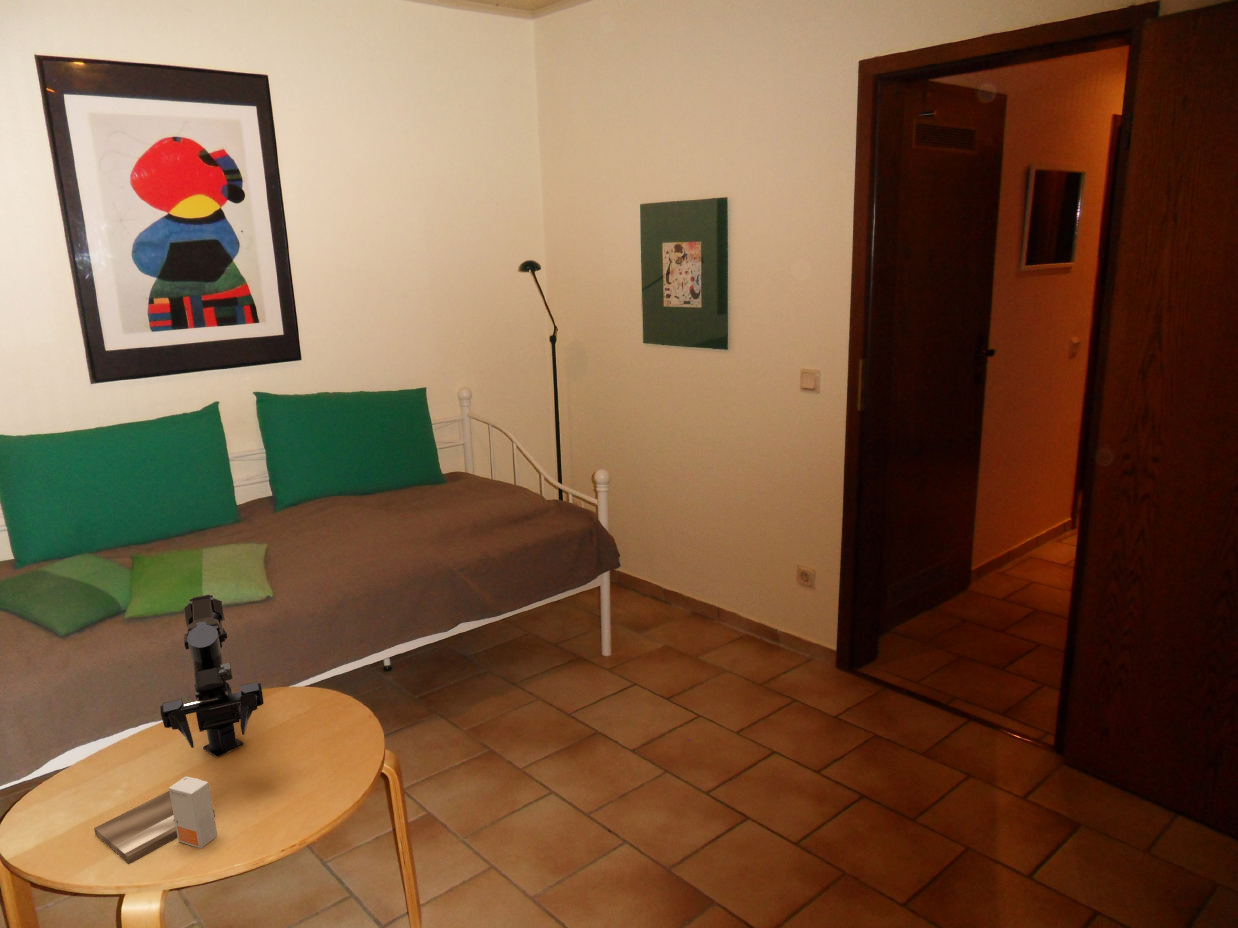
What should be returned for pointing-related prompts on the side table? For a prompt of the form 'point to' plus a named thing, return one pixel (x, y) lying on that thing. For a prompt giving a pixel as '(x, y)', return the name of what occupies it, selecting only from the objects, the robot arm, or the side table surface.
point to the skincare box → (193, 812)
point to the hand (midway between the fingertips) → (217, 740)
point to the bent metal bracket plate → (140, 828)
